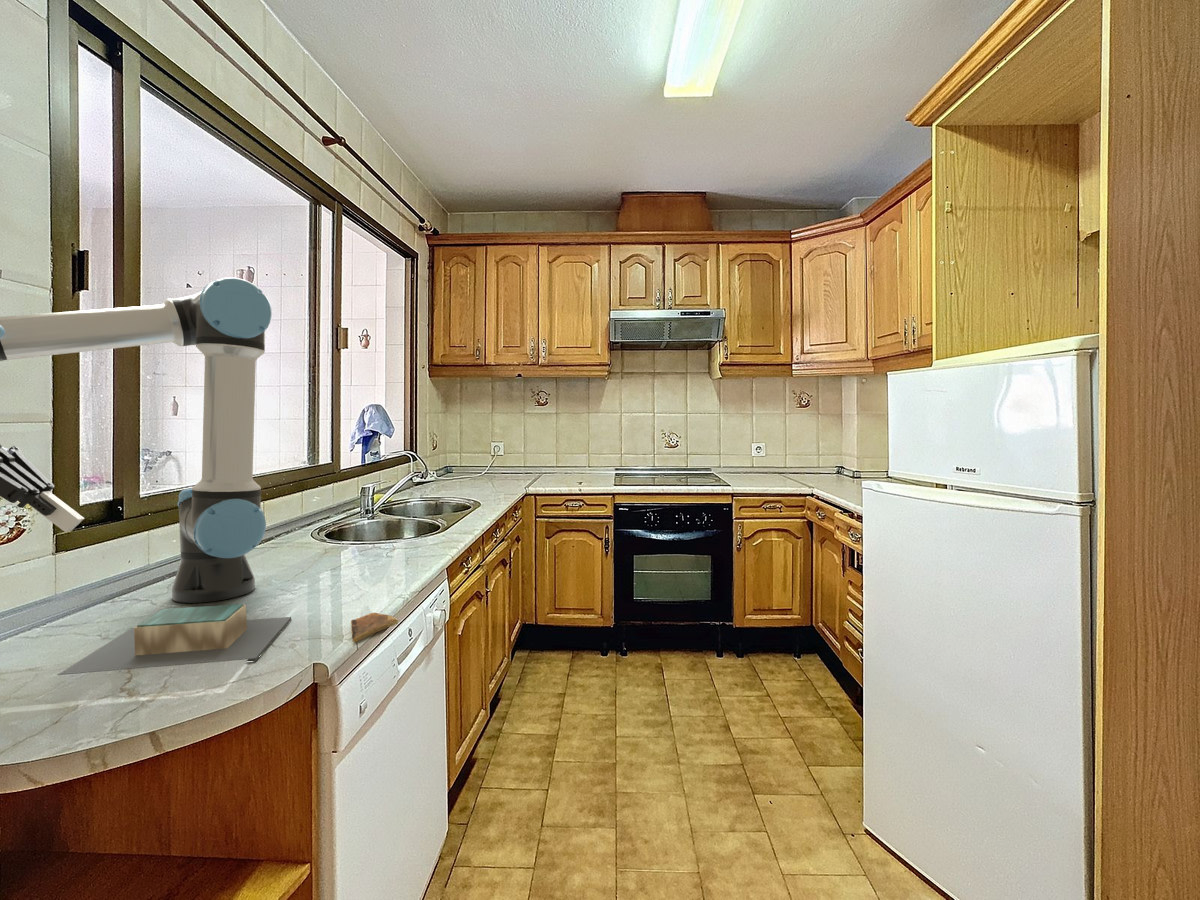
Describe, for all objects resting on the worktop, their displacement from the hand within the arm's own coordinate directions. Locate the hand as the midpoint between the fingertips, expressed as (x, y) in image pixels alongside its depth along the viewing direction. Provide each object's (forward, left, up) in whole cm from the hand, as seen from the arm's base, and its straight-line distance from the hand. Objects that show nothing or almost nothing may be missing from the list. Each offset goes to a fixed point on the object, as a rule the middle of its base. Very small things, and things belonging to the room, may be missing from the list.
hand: (75, 525), depth 96 cm
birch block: (-8, +6, -18) cm, 20 cm away
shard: (-37, +24, -21) cm, 49 cm away
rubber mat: (-13, +9, -21) cm, 26 cm away
